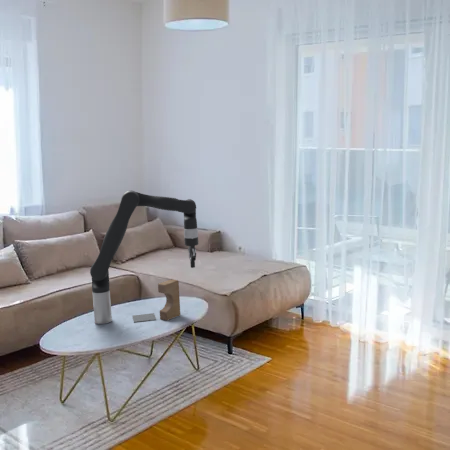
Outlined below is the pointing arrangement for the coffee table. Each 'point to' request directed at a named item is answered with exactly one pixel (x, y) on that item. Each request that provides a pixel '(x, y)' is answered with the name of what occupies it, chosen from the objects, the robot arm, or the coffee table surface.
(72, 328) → the coffee table surface
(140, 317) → the mat
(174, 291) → the decorative block
